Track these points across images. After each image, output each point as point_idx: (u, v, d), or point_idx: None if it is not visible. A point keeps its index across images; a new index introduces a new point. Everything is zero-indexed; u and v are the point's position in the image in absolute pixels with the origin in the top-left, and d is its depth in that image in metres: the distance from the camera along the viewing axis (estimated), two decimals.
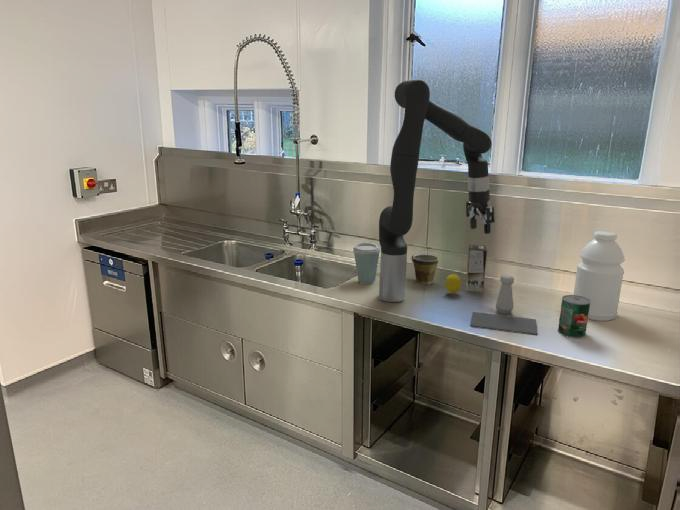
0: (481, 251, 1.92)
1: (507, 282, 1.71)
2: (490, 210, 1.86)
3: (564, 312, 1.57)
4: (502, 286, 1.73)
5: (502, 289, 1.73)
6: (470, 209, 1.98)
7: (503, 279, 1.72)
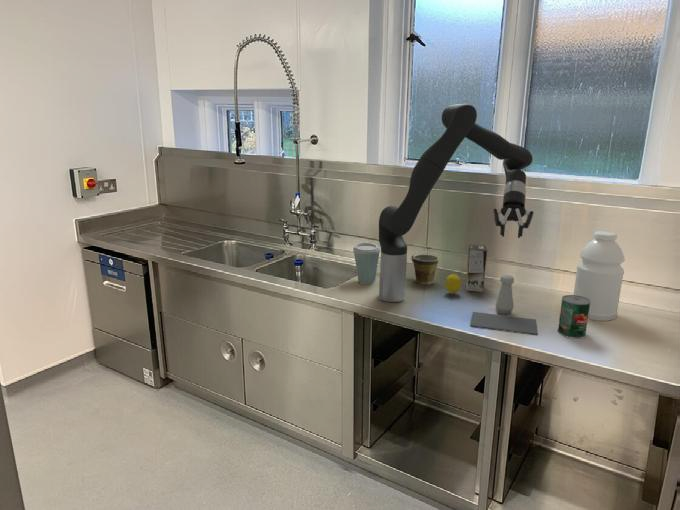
0: (481, 251, 1.92)
1: (507, 282, 1.71)
2: (532, 215, 1.82)
3: (564, 312, 1.57)
4: (502, 286, 1.73)
5: (502, 289, 1.73)
6: None
7: (503, 279, 1.72)
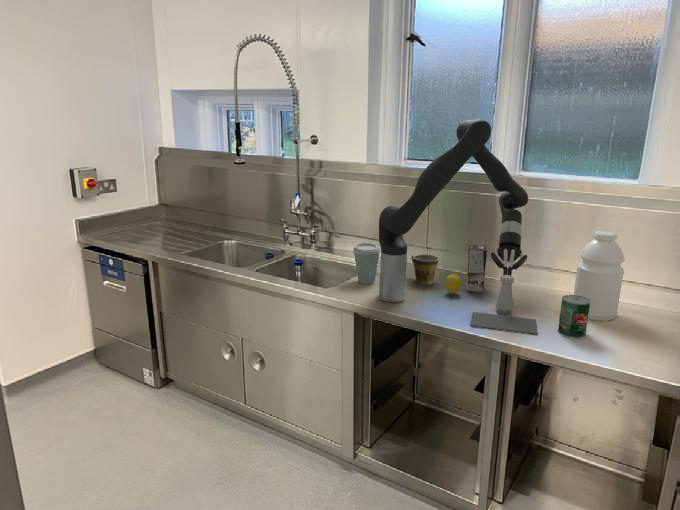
0: (481, 251, 1.92)
1: (507, 282, 1.71)
2: (525, 259, 1.83)
3: (564, 312, 1.57)
4: (502, 286, 1.73)
5: (502, 289, 1.73)
6: None
7: (503, 279, 1.72)
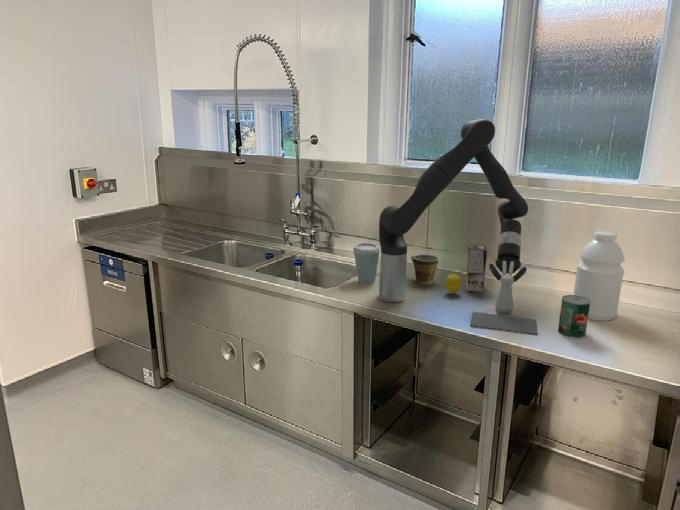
0: (481, 251, 1.92)
1: (507, 283, 1.71)
2: (524, 272, 1.78)
3: (564, 313, 1.57)
4: (502, 286, 1.73)
5: (502, 289, 1.73)
6: (496, 271, 1.80)
7: (503, 280, 1.71)
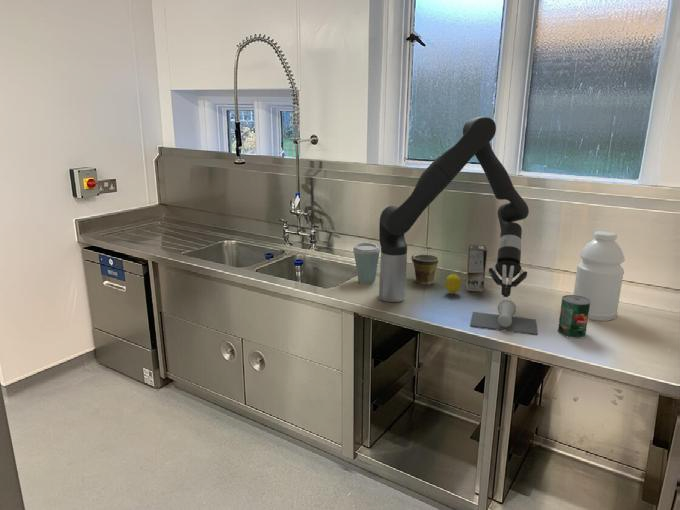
0: (481, 251, 1.92)
1: None
2: (525, 276, 1.73)
3: (564, 312, 1.57)
4: None
5: None
6: None
7: (499, 324, 1.63)
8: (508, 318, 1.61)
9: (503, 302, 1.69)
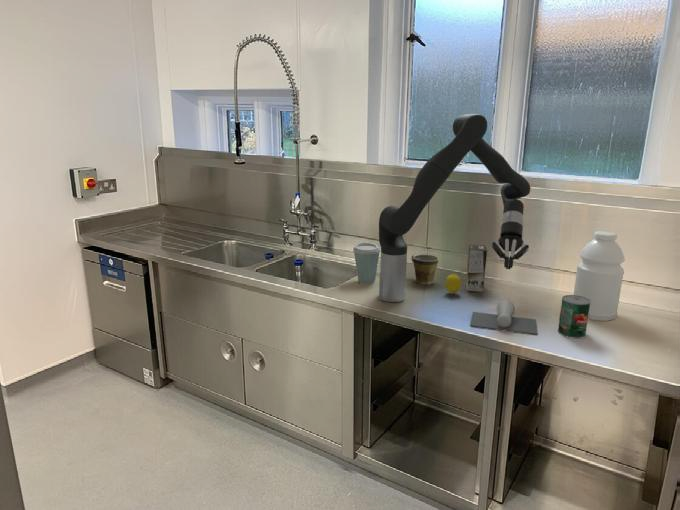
0: (481, 251, 1.92)
1: None
2: (527, 249, 1.82)
3: (564, 313, 1.57)
4: None
5: None
6: None
7: (498, 324, 1.63)
8: (507, 318, 1.61)
9: (501, 302, 1.69)
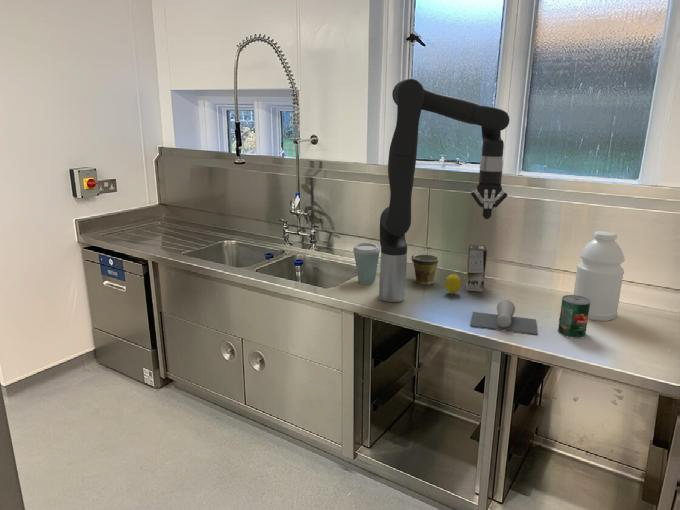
0: (481, 251, 1.92)
1: None
2: None
3: (564, 312, 1.57)
4: None
5: None
6: None
7: (498, 324, 1.63)
8: (507, 318, 1.61)
9: (501, 302, 1.69)
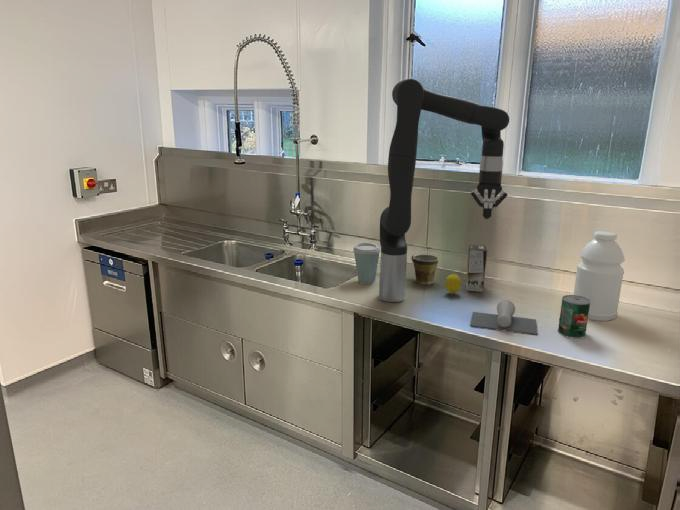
0: (481, 251, 1.92)
1: None
2: None
3: (564, 313, 1.57)
4: None
5: None
6: None
7: (498, 324, 1.63)
8: (507, 318, 1.61)
9: (501, 302, 1.69)
